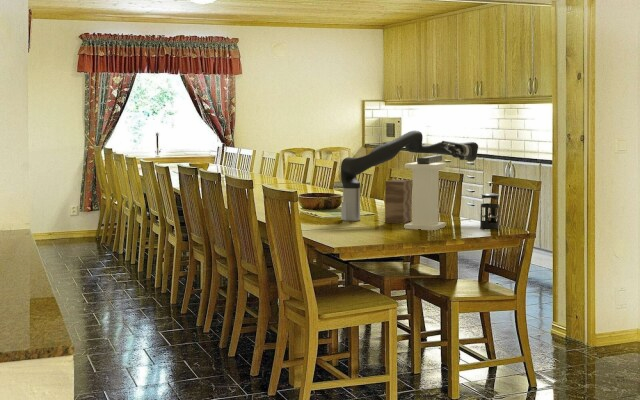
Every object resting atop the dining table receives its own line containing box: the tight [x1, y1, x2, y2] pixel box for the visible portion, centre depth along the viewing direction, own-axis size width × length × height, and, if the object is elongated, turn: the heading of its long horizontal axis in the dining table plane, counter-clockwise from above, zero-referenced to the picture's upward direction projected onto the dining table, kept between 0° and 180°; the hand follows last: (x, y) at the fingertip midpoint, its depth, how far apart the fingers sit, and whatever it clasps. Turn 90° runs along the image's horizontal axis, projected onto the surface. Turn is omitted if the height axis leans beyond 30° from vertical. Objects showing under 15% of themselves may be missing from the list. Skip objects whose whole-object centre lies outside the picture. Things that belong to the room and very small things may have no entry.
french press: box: [479, 181, 500, 230], centre depth 412 cm, size 12×9×23 cm
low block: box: [384, 179, 413, 225], centre depth 437 cm, size 12×10×22 cm
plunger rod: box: [416, 154, 443, 164], centre depth 419 cm, size 26×6×3 cm, turn 152°
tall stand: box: [403, 161, 448, 232], centre depth 415 cm, size 16×16×32 cm
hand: (448, 150), depth 426 cm, fingers open, 8 cm apart
